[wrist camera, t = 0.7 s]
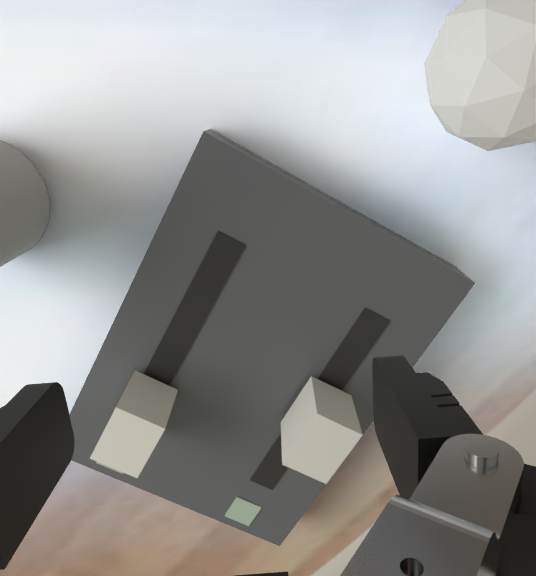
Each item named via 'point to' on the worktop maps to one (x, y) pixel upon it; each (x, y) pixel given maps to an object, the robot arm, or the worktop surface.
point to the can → (20, 204)
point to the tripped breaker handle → (319, 430)
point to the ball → (486, 73)
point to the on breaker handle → (135, 425)
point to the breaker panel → (257, 331)
